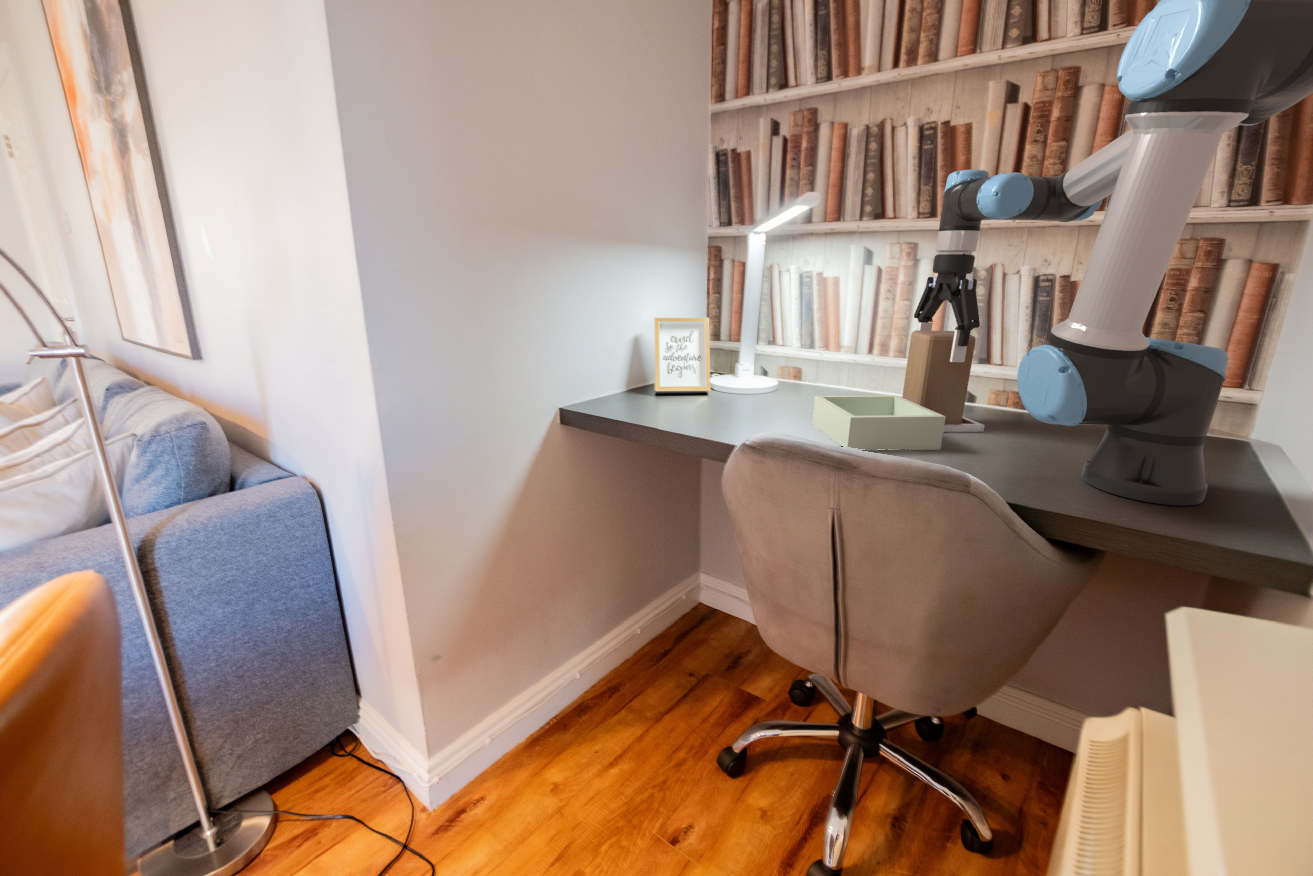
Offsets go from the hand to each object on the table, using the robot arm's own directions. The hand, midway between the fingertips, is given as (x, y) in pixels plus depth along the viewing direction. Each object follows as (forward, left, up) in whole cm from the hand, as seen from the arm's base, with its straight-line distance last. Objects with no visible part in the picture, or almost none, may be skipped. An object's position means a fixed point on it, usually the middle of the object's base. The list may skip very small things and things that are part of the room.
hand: (938, 356), depth 124 cm
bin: (-10, +18, -15) cm, 25 cm away
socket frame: (0, 0, -15) cm, 15 cm away
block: (0, 0, -15) cm, 15 cm away
